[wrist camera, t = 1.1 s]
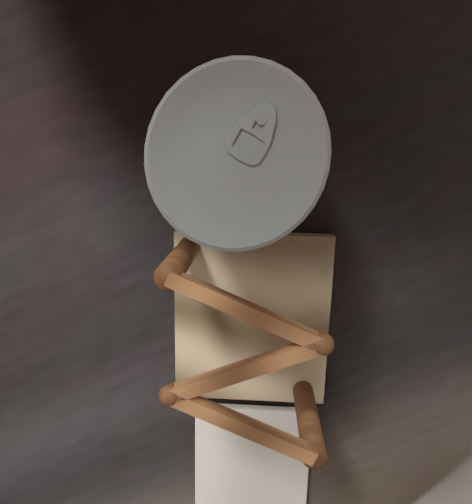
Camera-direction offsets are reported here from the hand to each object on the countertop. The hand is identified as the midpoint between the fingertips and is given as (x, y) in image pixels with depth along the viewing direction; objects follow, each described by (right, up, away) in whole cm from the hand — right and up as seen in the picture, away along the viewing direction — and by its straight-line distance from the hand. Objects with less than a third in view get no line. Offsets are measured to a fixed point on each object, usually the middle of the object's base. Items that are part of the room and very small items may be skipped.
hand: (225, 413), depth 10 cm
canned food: (+1, +10, +18) cm, 21 cm away
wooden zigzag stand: (+1, -1, +21) cm, 21 cm away
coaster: (+1, -12, +23) cm, 26 cm away
